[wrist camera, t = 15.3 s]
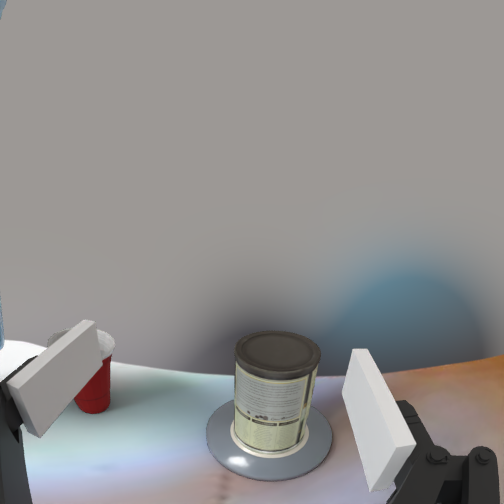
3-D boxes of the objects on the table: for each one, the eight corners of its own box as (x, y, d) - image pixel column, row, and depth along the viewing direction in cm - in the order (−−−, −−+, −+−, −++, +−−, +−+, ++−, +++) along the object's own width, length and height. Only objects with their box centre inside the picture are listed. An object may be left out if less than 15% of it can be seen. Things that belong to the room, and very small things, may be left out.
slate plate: (194, 473, 30) (193, 468, 29) (217, 393, 47) (217, 389, 47) (338, 480, 28) (340, 476, 28) (323, 400, 46) (324, 395, 46)
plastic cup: (125, 425, 36) (111, 360, 34) (60, 422, 33) (37, 357, 30) (127, 384, 46) (117, 324, 44) (71, 383, 43) (57, 324, 41)
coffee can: (226, 412, 41) (227, 332, 38) (290, 404, 44) (301, 327, 41) (240, 461, 31) (244, 376, 29) (316, 447, 34) (336, 364, 31)
